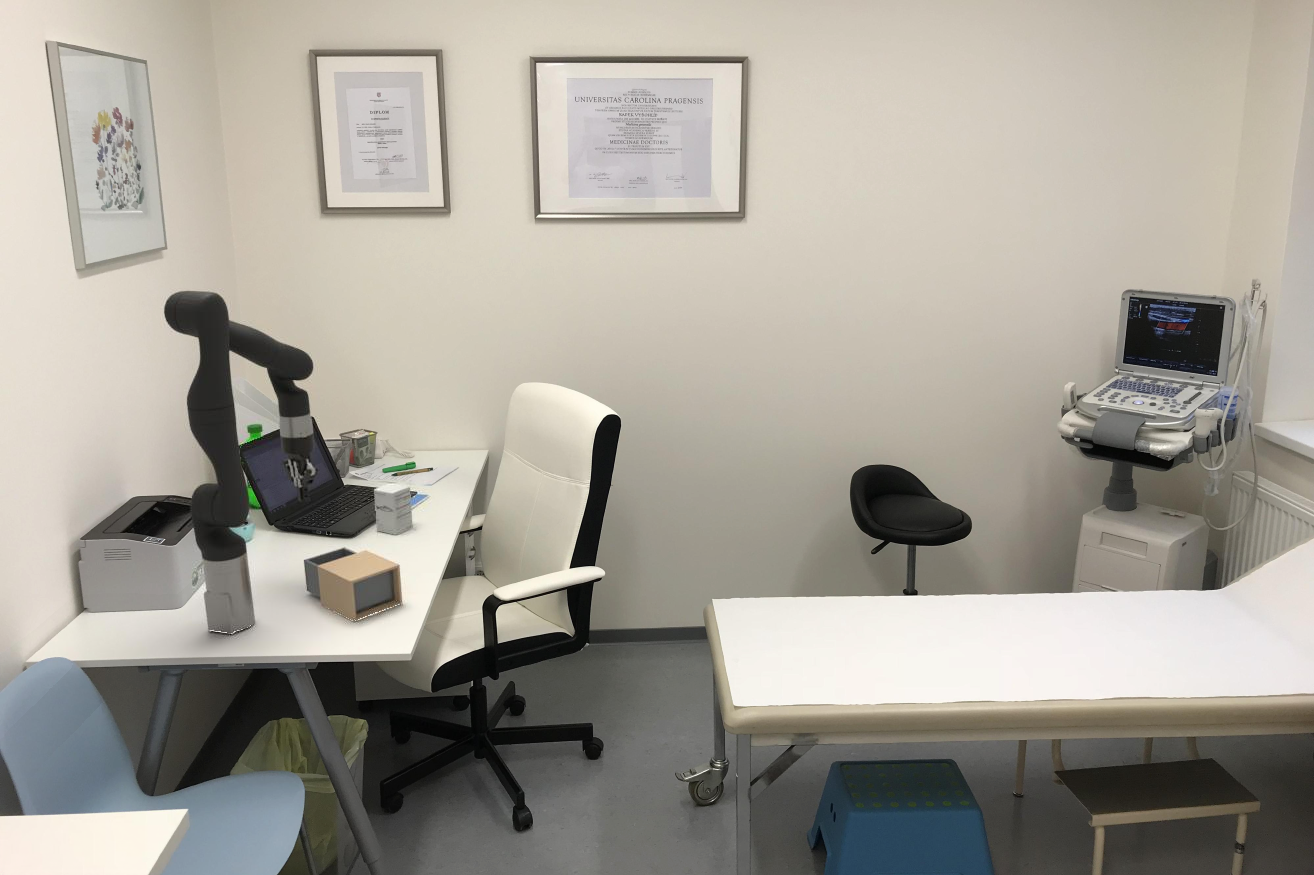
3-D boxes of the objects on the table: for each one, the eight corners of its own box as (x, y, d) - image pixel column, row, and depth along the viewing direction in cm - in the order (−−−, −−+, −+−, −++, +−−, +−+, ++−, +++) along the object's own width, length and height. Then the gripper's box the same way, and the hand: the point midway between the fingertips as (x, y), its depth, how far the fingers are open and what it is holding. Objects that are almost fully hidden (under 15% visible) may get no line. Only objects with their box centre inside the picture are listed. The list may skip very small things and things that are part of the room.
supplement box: (376, 531, 288) (372, 489, 284) (394, 523, 294) (390, 482, 291) (396, 535, 284) (392, 493, 281) (413, 527, 291) (410, 485, 287)
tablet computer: (394, 495, 321) (393, 491, 320) (430, 498, 318) (430, 494, 318) (363, 515, 303) (363, 511, 302) (402, 518, 300) (401, 514, 299)
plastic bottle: (274, 510, 306) (266, 429, 299) (239, 510, 306) (230, 430, 299) (286, 499, 315) (278, 421, 309) (252, 499, 315) (243, 421, 309)
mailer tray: (306, 590, 245) (303, 560, 243) (347, 577, 253) (344, 547, 251) (352, 614, 233) (349, 581, 230) (393, 599, 240) (391, 567, 238)
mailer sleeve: (321, 605, 240) (317, 565, 237) (369, 588, 249) (365, 550, 247) (354, 622, 231) (350, 581, 228) (402, 604, 240) (399, 564, 238)
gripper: (268, 430, 246) (275, 498, 250) (296, 440, 237) (303, 510, 242) (296, 424, 251) (303, 491, 256) (325, 433, 243) (331, 502, 247)
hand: (303, 500), depth 249 cm, fingers closed
